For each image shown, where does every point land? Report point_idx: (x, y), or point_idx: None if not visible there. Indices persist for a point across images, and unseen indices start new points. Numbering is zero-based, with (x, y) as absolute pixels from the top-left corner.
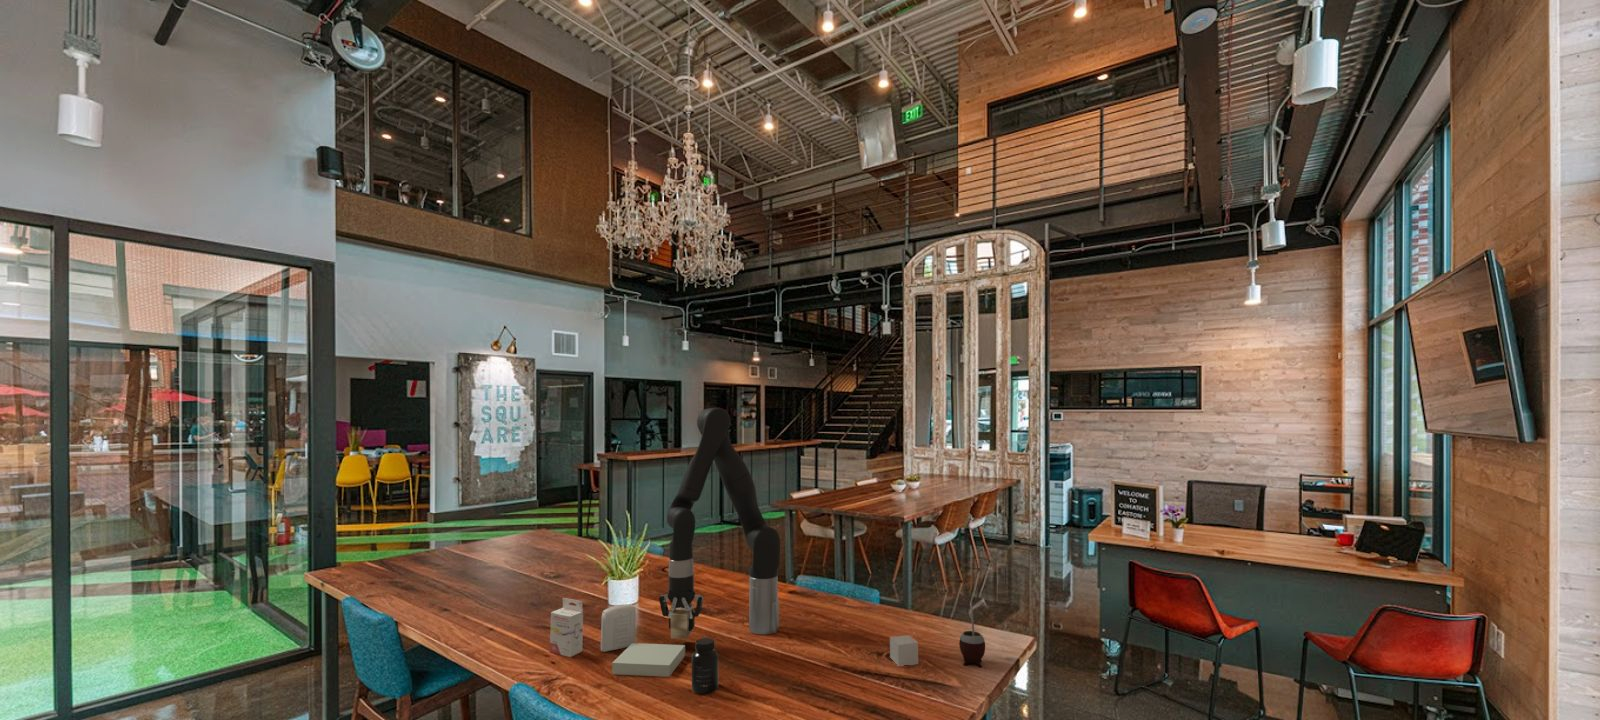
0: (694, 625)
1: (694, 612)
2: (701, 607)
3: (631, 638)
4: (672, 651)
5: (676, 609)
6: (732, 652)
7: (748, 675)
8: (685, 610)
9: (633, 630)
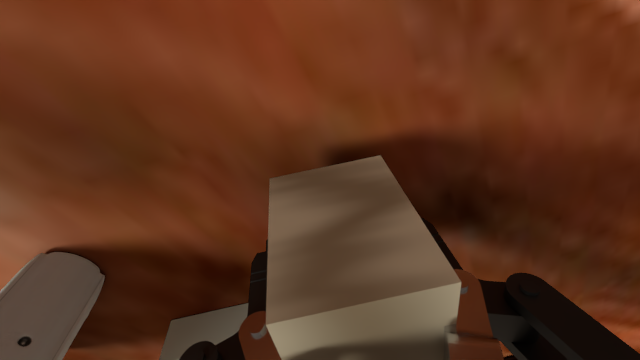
0: (434, 230)
1: (497, 328)
2: (603, 338)
3: (84, 320)
4: None
5: (292, 353)
6: (581, 184)
7: (616, 298)
8: (403, 343)
9: (63, 353)
